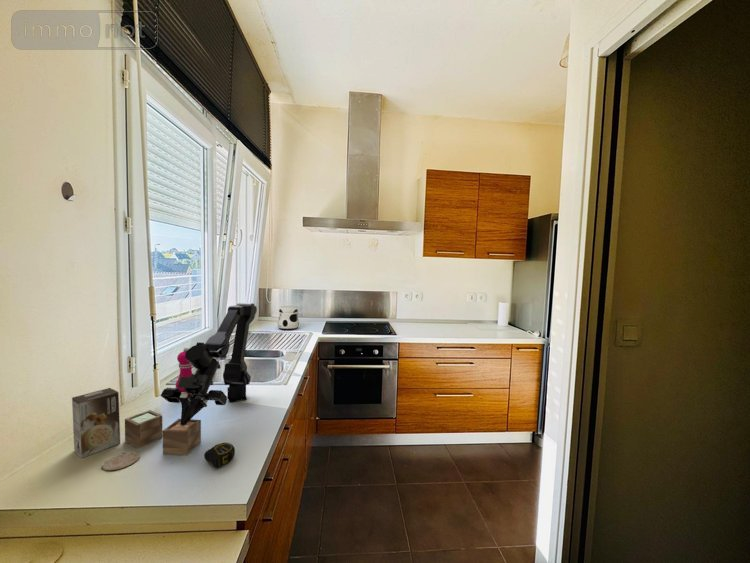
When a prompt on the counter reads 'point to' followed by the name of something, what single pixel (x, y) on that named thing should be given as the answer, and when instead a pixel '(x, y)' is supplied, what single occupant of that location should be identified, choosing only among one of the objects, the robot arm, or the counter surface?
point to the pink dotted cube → (182, 426)
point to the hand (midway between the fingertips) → (182, 424)
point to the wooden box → (181, 438)
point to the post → (143, 429)
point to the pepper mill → (183, 367)
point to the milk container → (288, 317)
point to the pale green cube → (143, 418)
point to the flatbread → (121, 461)
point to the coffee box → (96, 421)
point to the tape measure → (220, 454)
